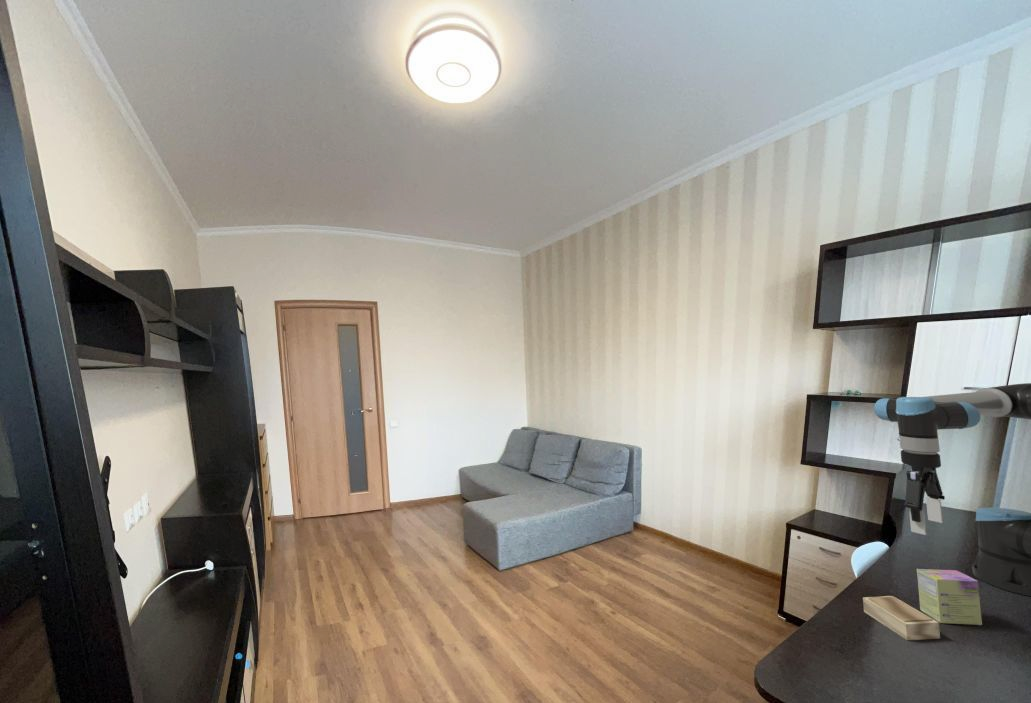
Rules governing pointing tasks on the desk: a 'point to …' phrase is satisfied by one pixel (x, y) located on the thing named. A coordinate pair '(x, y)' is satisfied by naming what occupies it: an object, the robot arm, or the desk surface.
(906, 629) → the wooden tray
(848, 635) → the desk surface
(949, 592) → the box
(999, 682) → the desk surface
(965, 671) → the desk surface
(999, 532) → the robot arm
